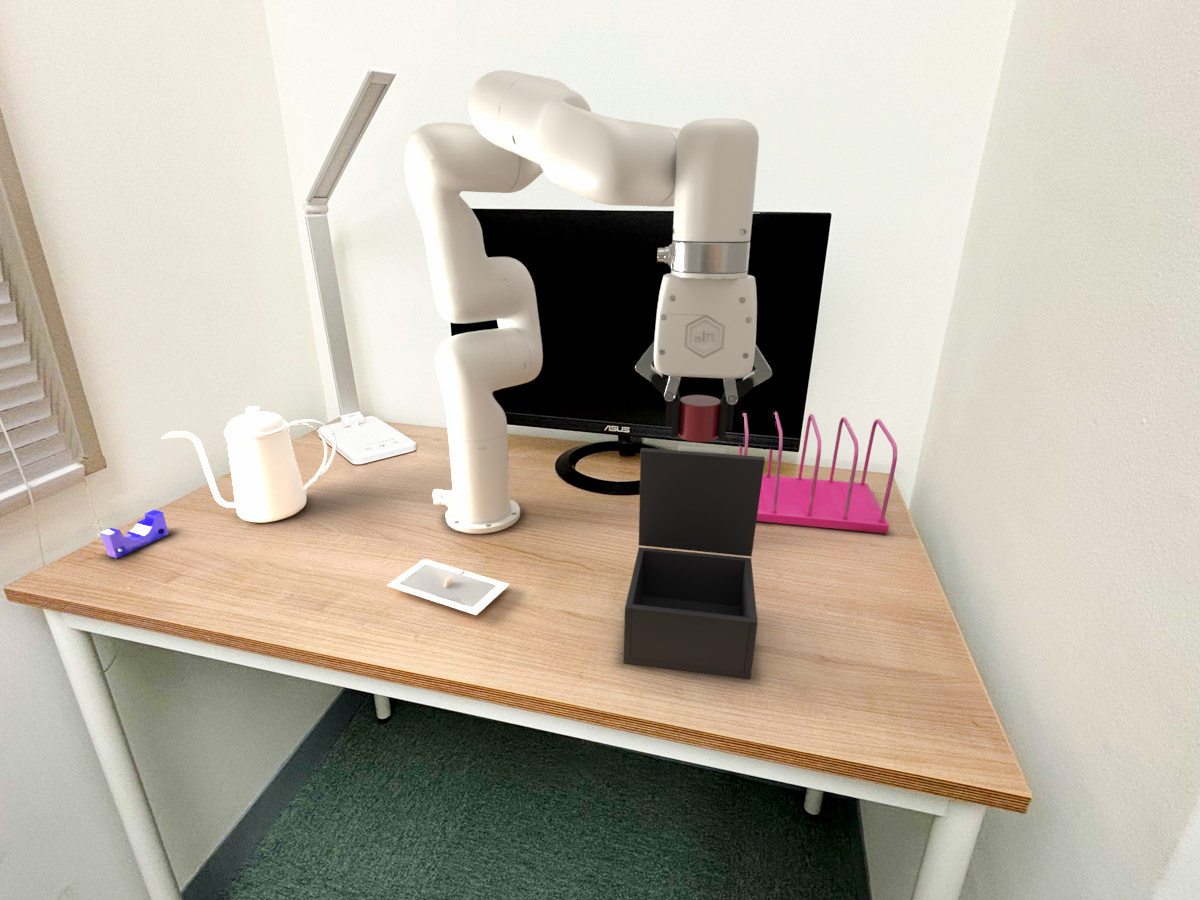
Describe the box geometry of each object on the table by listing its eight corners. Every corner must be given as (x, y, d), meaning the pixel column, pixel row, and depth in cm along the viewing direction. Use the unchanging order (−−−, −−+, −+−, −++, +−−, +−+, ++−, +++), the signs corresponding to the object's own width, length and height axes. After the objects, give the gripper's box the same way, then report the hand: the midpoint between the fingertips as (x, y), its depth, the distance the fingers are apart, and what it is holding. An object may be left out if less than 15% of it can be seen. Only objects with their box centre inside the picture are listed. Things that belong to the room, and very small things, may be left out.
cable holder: (153, 530, 100) (147, 508, 99) (168, 534, 99) (162, 511, 98) (101, 553, 94) (93, 530, 92) (116, 558, 92) (109, 534, 91)
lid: (764, 460, 72) (762, 437, 77) (640, 450, 74) (645, 429, 79) (751, 556, 79) (750, 530, 84) (638, 545, 81) (643, 520, 86)
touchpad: (476, 622, 79) (475, 608, 78) (387, 592, 85) (385, 578, 84) (510, 590, 86) (509, 577, 85) (425, 565, 92) (423, 552, 91)
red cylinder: (676, 440, 66) (678, 405, 65) (679, 427, 70) (680, 393, 69) (718, 443, 65) (721, 407, 64) (718, 430, 69) (720, 395, 68)
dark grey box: (750, 679, 70) (757, 622, 67) (623, 663, 72) (624, 607, 69) (745, 608, 82) (751, 557, 80) (636, 596, 85) (638, 546, 82)
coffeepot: (180, 521, 103) (151, 414, 96) (332, 481, 119) (317, 387, 112) (193, 546, 96) (163, 433, 89) (353, 501, 111) (338, 401, 104)
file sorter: (887, 535, 101) (905, 446, 96) (732, 520, 106) (741, 434, 100) (865, 491, 117) (880, 412, 112) (731, 480, 122) (739, 403, 116)
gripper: (620, 262, 59) (617, 441, 66) (802, 265, 56) (780, 451, 63) (630, 257, 66) (626, 419, 72) (793, 259, 63) (774, 428, 70)
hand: (698, 432), depth 68 cm, fingers closed on red cylinder, 4 cm apart
